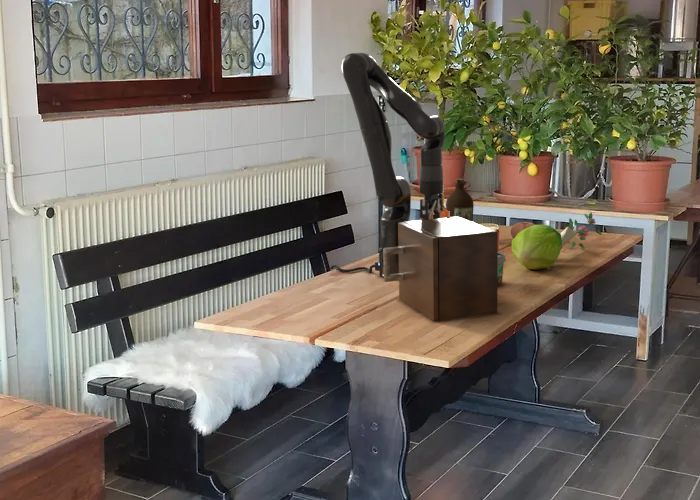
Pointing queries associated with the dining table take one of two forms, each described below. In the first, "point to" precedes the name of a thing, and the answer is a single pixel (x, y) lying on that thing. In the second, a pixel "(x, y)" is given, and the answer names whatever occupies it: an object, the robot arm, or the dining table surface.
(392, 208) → the robot arm
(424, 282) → the door
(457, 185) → the olive oil
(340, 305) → the dining table surface
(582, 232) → the flower vase
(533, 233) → the lettuce
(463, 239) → the cupboard
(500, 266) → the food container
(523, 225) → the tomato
